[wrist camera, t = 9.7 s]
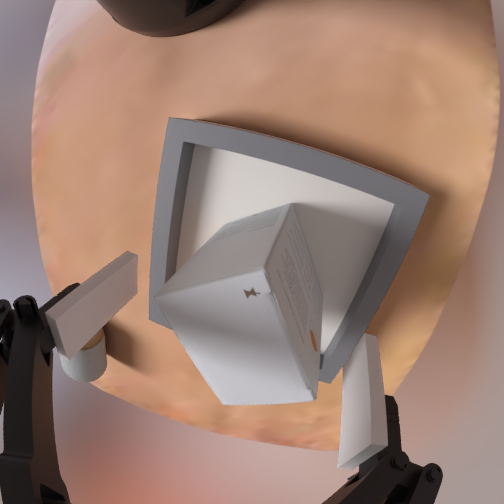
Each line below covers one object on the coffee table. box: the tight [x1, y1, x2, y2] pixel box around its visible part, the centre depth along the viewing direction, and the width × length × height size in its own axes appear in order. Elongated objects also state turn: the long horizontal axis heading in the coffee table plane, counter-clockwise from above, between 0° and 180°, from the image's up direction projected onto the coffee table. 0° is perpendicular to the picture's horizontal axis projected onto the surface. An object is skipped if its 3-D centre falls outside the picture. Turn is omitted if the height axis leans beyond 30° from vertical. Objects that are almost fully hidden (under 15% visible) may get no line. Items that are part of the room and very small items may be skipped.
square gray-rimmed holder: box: [149, 117, 430, 383], centre depth 21 cm, size 18×18×4 cm
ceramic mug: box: [60, 327, 107, 382], centre depth 32 cm, size 11×8×8 cm
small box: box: [154, 203, 323, 405], centre depth 17 cm, size 8×6×10 cm
